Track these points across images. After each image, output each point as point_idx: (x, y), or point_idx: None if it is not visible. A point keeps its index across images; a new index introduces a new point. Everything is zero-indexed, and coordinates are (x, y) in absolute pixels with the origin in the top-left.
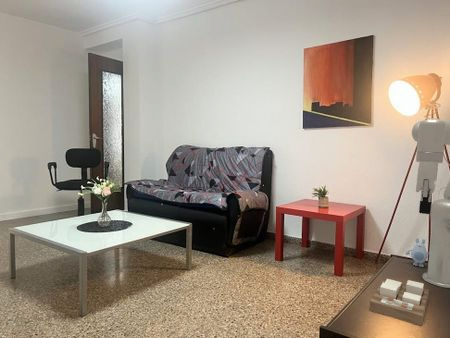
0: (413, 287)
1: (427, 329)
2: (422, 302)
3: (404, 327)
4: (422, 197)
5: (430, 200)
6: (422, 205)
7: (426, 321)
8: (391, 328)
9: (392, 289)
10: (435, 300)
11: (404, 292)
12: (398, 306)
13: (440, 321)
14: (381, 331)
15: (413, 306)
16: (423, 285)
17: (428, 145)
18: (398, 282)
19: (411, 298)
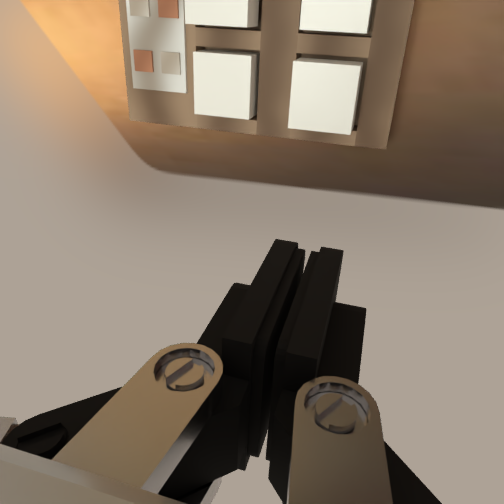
0: (291, 91)
1: (137, 128)
2: (232, 122)
3: (103, 66)
4: (50, 411)
5: (219, 484)
6: (209, 325)
7: (184, 127)
8: (70, 29)
9: (190, 6)
10: (379, 164)
11: (242, 56)
12: (131, 42)
13: (212, 165)
14: (33, 2)
15: (177, 92)
16: (341, 132)
17: None
18: (353, 18)
19: (200, 85)
